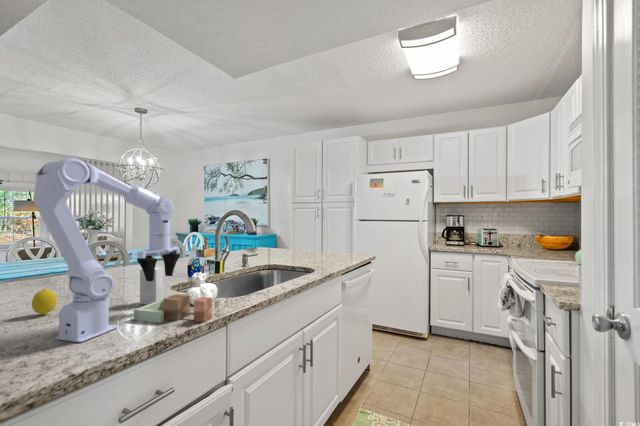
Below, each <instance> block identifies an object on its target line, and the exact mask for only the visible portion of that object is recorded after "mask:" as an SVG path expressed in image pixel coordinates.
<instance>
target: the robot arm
mask: <svg viewBox="0 0 640 426" xmlns="http://www.w3.org/2000/svg"><path fill="white" fill-rule="evenodd" d="M35 177H36V183H35V187H34V192H33V195H32V196H33V198H32V200H33V203H34V205H35V207H36V209H37V211H38V213H39V214H40V215H39V216H41V218H42V220H43V222H44V224H45V226H46V228H47V229H48V231H49V233H50V235H51V238H52V239H53V240H54V243H55V245H56V246H57V248H58V250H59V252H60V254H61V256H62V258H63V260H64V262H65V264H66V265H67V270H66V275H67V278H68V288H69V291H70V292H71V293H73V294H74V295H73V298H72V299H73V300H72V301H71V302H70V303H68V304H66V305H63V306H62V307H61V309H60V310H59V314H58V322H59V323H58V336H56V340H61V341H67V342H68V341H69V342H73V343H74V342H75V343H83V342H85V341H88V340H90V339H94V338H95V337H98V336H100V335H103V334H105V333H107V332H110V331H113V330H115V329H118V325H112V324H109V323H110V316H109V315H110V294H111V293H112V291H113V290H114V288H115V279H114V277H113V276H112V275H111V274H110V273H108V272H107V271H106V270H105V269H104V267H103V265H102V264H100V263H99V262H98V260H96V259H95V258H94V255H93V254H92V251H91V250H90V247H89V246H88V243H87V241H86V239H85V237H84V235H83V233H82V232H81V229H80V228H79V225H78V223H77V221H76V219H75V217H74V215H73V213H72V211H71V209H70V206H69V205H68V203H67V200H68V199H69V198H70V197H71V195H72V194H73V192H74V191H75V190H77V189H78V188H79V187H80V186H82V185H94V186H97V187H99V188H101V189H104V190H107V191H109V192H113V193H114V194H117V195H120V196H122V197H123V199H124V201H125V203H128V204H129V205H133V206H134V207H137V208H139V209H141V210H143V211H144V210H145V212H146V213H147V214H148V215H149V216H148V217H149V219H148V220H149V221H148V222H149V225H148V226H149V232H148V233H149V234H148V235H149V239H148V240H149V241H148V242H149V243H148V246H149V247H148V248H149V249H146V250H141V251H137V255H136V256H137V259H136V260H137V263H138V264H139V266H140V268H141V269H143V272H144V275H145V278H146V281H153V280H154V271H155V268H156V265H157V261H158V258H153V257H157V256H161V257H162V260H163V264H164V275H165V276H166V277H172V276H173V273H174V270H175V267H176V264H177V262H178V260H179V258H180V256H181V254H180V247H179V246H171V218H172V213H173V212H174V210H175V205H174V203H173V202H172V200H171V199H170V198H169V197H167V196H160V195H159V194H160V193H157V192H153V191H150V190H148V189H146V187H145V185H143V184H133V185H129V184H127V183H126V182H125V183H124V182H123V181H121V180H119V179H117V178H116V177H114V176H112V175H110V174H108V173H106V172H104V171H102V170H100V169H98V168H97V167H96V166H94V165H93V164H90V163H88V162H84V161H83V160H81V159H78V158H75V157H68V158H64V159H61V160H55V161H48V162H46V163H45V164H43V165H42V166H41V168H40V169H39V170H38V171H37V172H36V173H35Z"/></svg>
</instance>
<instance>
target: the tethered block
mask: <svg viewBox="0 0 640 426" xmlns="http://www.w3.org/2000/svg"><path fill="white" fill-rule="evenodd" d="M163 311H164V321H165V320H166V321H176V322H178V321H180V320H182V319H185V318H187V317H189V316H190V315H193V322H194V323H195V322H196V323H198V322H199V323H206V322H207V321H210V320H211V319H213V300H212V298H211V297H200V298H198V299H195V300H194V305H193V311H191V303H190V295H186V294H173V295H170V296H167V297H164V299H163Z"/></svg>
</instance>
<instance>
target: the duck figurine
mask: <svg viewBox="0 0 640 426" xmlns="http://www.w3.org/2000/svg"><path fill="white" fill-rule="evenodd" d="M207 279H208V278H207V273H203V272H202V271H200V272H195V273H193V274H192V276H191V281H192V283H194V286H191V287H190V288H188V290H187V291H186V293H185V295H190V305H192V306H194V300H195V299H198V298H200V297H211V298H212V301H213V300H215V299H216V298H217V296H218V287H217V286H216V284H215V283H210V282H209V283H208V282H206V280H207Z"/></svg>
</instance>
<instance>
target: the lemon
mask: <svg viewBox="0 0 640 426" xmlns="http://www.w3.org/2000/svg"><path fill="white" fill-rule="evenodd" d="M57 303H58V299H57V295H56V293H55V292H54V291H53V290H51V289H47V288H43V289H41V290H40V291H38V292H36V293H35V294H34V296H33V297H32V300H31V307H32V311H34V312H35V313H36V314H40V315H42V316H47V314H48V313H50V312H51V311H53V310H54V309H55V308H56V306H57Z"/></svg>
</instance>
